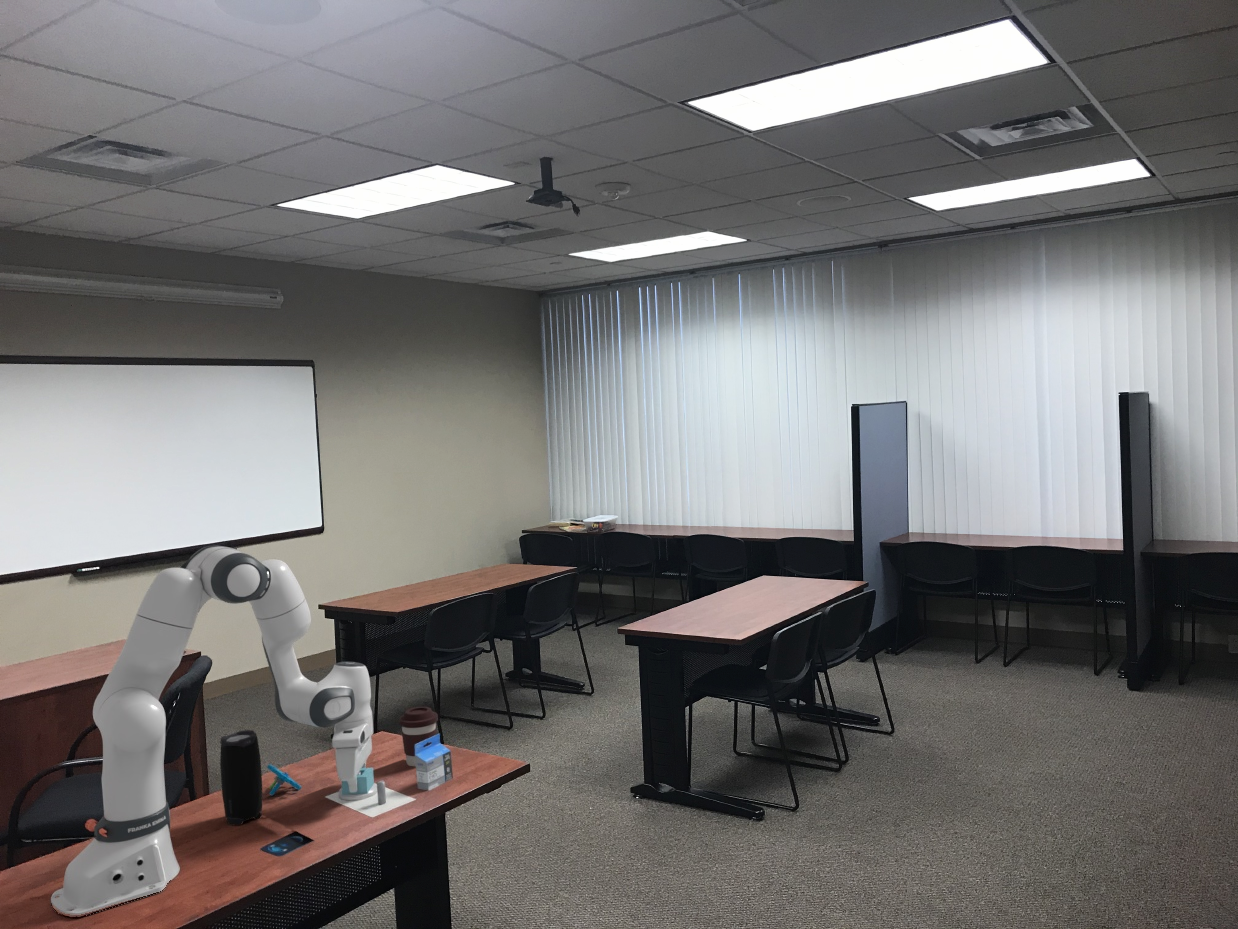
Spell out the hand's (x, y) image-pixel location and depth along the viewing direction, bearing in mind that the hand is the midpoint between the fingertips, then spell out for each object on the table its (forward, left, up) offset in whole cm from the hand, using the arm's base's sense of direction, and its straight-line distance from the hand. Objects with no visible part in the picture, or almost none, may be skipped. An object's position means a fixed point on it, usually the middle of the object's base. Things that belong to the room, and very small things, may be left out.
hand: (357, 785), depth 219 cm
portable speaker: (-22, +13, -4) cm, 26 cm away
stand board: (0, -5, -4) cm, 6 cm away
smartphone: (-20, -8, -4) cm, 22 cm away
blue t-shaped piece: (-8, +20, -4) cm, 22 cm away
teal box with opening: (0, 0, -1) cm, 1 cm away
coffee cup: (+22, +5, -4) cm, 23 cm away
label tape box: (+15, -11, -4) cm, 19 cm away
